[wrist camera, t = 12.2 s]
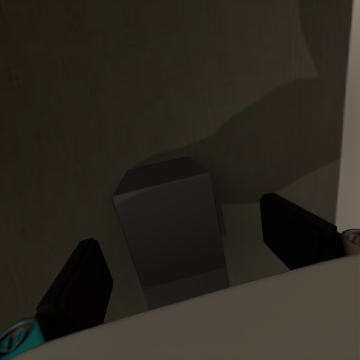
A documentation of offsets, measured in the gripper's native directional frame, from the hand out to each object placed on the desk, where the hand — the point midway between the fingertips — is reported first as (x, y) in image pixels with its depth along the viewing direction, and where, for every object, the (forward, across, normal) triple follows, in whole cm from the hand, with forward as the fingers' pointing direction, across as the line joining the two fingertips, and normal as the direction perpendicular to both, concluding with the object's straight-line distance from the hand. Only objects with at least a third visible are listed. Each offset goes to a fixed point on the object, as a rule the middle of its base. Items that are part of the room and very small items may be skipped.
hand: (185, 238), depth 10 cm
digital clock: (+4, +1, 0) cm, 4 cm away
